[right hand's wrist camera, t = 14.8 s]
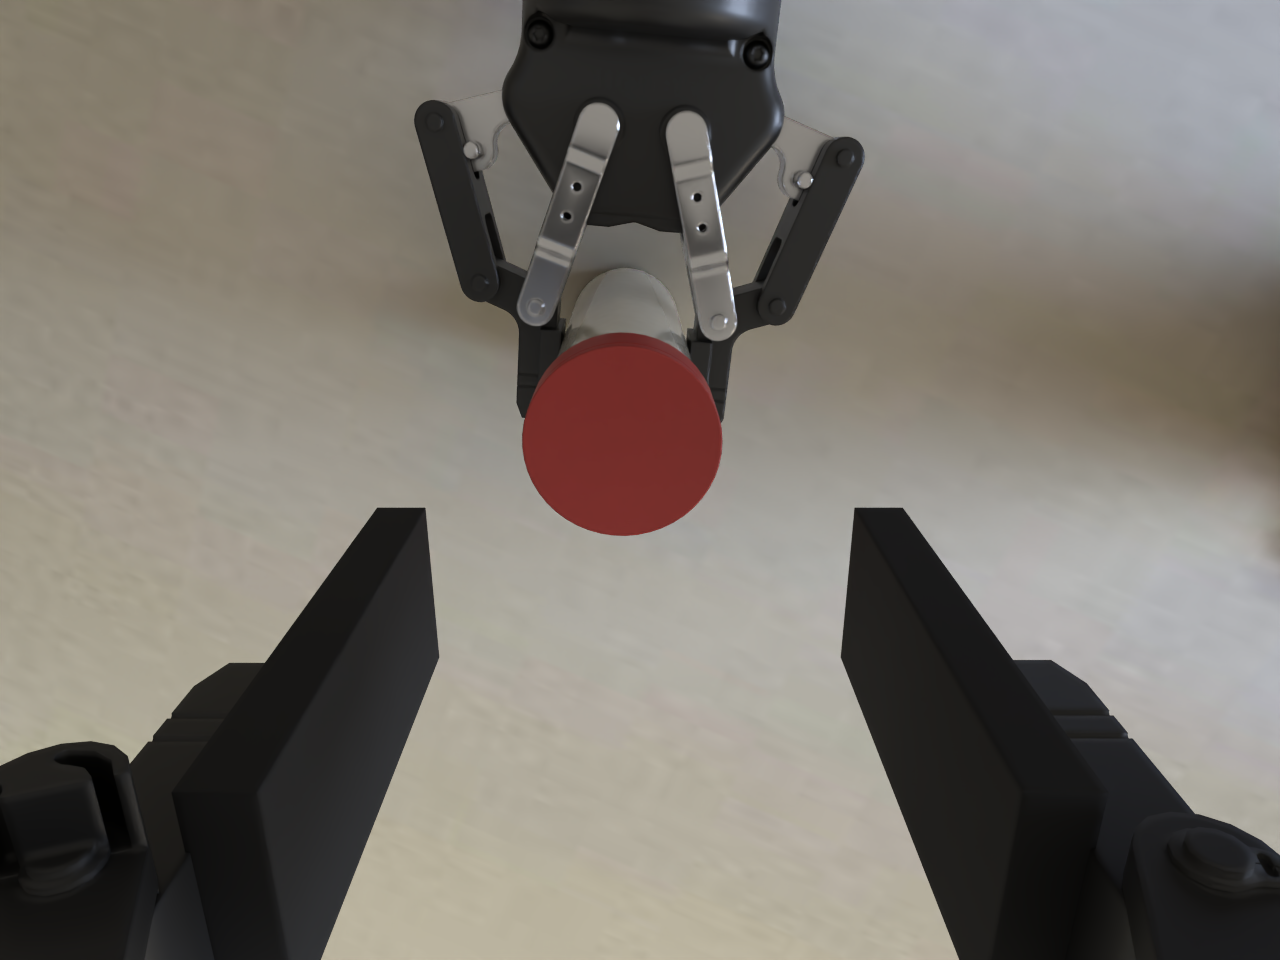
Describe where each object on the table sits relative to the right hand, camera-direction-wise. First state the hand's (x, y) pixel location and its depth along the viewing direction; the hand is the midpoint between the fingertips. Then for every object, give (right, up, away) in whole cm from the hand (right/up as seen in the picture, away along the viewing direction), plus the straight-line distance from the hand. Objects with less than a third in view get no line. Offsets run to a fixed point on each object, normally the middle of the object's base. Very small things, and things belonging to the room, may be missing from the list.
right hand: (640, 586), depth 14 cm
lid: (0, +3, +7) cm, 8 cm away
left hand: (-1, +3, +16) cm, 17 cm away
